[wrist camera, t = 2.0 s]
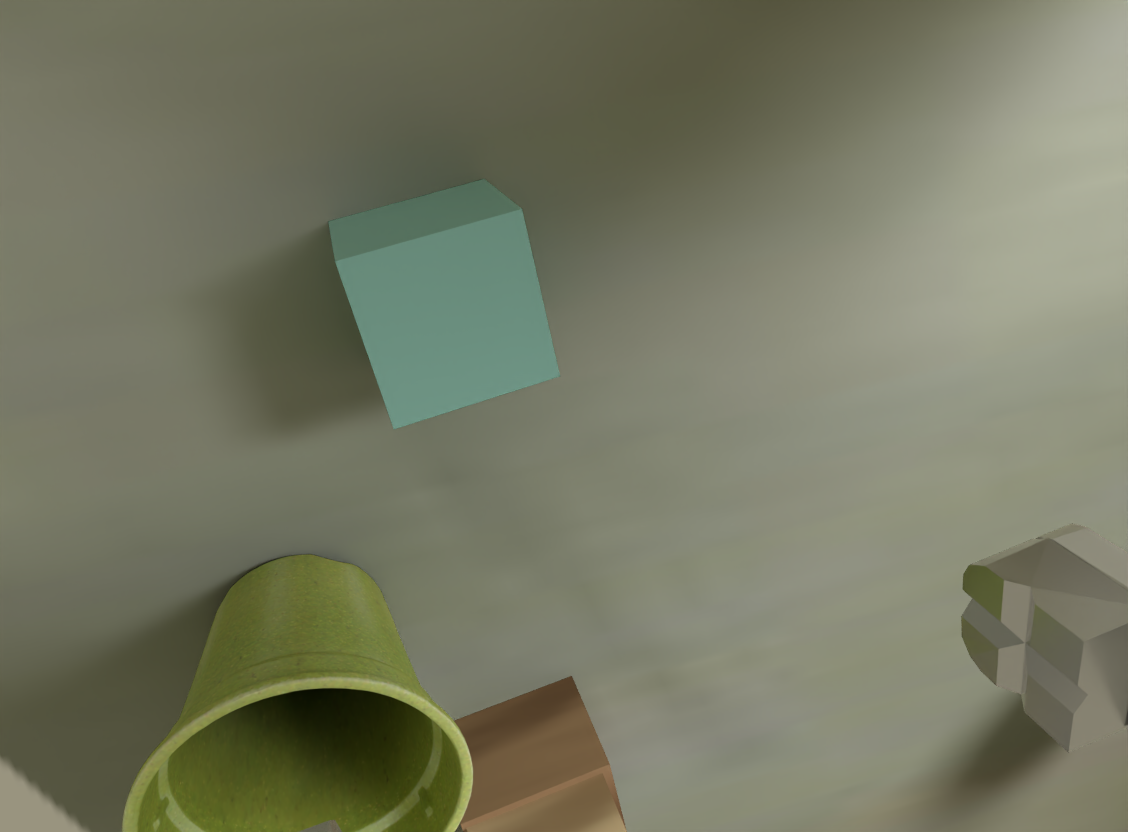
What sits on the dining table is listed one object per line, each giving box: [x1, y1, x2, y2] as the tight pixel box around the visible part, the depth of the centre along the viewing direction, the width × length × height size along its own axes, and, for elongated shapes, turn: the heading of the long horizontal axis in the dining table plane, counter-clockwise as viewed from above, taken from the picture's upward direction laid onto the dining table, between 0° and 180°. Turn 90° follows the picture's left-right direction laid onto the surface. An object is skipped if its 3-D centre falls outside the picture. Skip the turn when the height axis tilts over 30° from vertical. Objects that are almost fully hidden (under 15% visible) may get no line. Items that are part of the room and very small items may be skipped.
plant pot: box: [122, 554, 473, 832], centre depth 27 cm, size 9×9×9 cm
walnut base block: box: [454, 676, 626, 832], centre depth 34 cm, size 6×6×5 cm
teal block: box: [328, 179, 560, 429], centre depth 24 cm, size 5×5×5 cm
